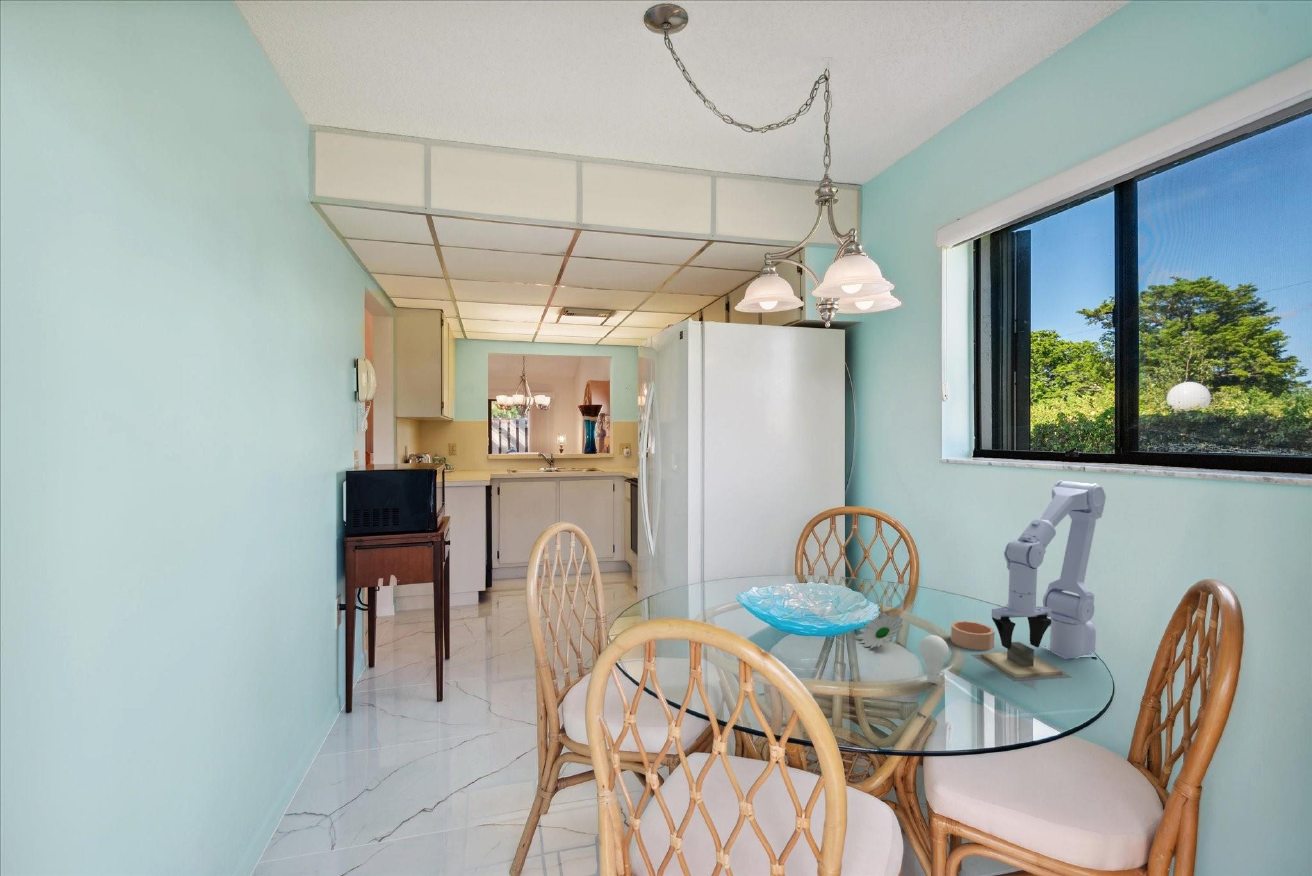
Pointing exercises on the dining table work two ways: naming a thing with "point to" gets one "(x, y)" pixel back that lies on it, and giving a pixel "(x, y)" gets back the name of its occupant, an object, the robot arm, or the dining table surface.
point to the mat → (1021, 677)
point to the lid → (1021, 662)
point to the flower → (880, 630)
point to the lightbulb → (933, 656)
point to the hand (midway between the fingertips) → (1020, 646)
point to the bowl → (972, 635)
